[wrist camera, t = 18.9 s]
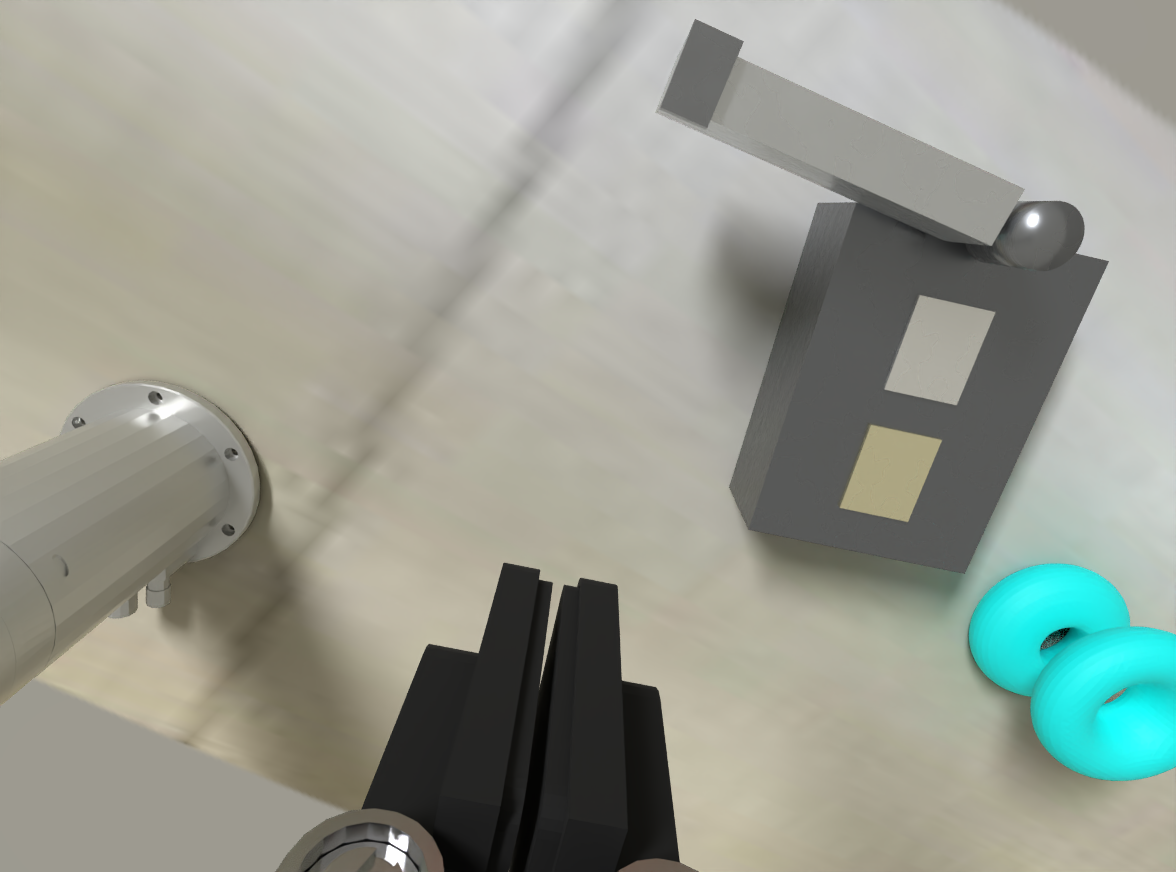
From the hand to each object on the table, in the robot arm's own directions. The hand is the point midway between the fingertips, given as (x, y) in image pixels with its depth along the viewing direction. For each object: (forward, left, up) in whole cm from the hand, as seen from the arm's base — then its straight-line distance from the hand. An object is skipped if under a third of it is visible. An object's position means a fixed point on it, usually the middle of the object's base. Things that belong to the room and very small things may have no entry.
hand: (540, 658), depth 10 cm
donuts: (-14, -35, -32) cm, 50 cm away
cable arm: (+10, -10, -25) cm, 29 cm away
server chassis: (+1, -18, -32) cm, 37 cm away
